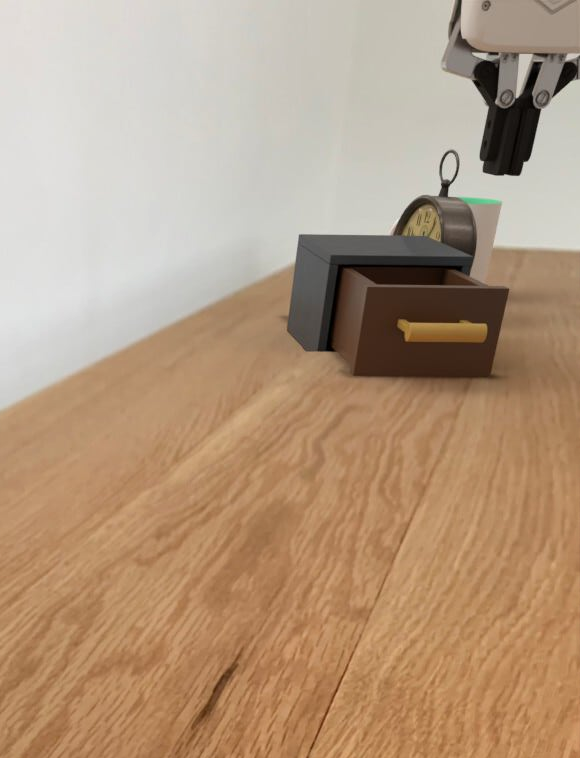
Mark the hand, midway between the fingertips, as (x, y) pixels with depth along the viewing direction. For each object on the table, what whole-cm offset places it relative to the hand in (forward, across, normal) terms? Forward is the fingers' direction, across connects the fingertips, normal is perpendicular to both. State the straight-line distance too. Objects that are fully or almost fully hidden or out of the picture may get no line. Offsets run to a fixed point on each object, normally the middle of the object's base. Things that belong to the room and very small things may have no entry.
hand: (500, 173), depth 77 cm
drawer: (+16, 0, +13) cm, 21 cm away
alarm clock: (+17, +10, +42) cm, 46 cm away
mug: (+17, +15, +56) cm, 60 cm away
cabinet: (+17, 0, +26) cm, 31 cm away
